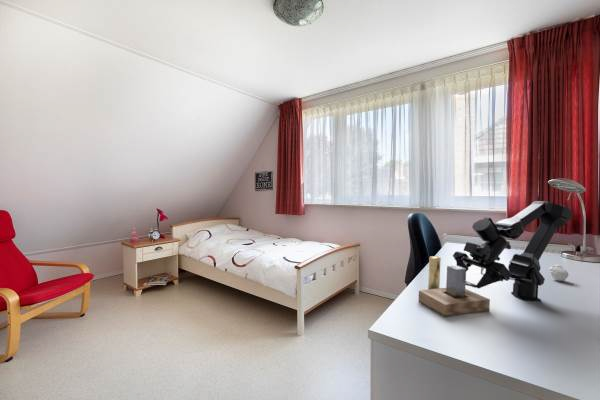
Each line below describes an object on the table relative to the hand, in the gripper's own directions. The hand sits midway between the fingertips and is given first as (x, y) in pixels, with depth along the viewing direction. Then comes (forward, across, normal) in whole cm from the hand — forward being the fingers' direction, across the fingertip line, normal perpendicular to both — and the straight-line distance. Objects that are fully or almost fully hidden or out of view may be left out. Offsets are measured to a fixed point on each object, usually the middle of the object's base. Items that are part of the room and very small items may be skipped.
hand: (465, 282), depth 93 cm
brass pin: (+6, -14, +5) cm, 16 cm away
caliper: (-26, -19, +38) cm, 50 cm away
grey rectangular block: (+8, 0, +2) cm, 8 cm away
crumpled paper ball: (-39, -11, +51) cm, 65 cm away
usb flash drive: (-6, -17, +19) cm, 26 cm away
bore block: (+8, 0, +2) cm, 9 cm away
